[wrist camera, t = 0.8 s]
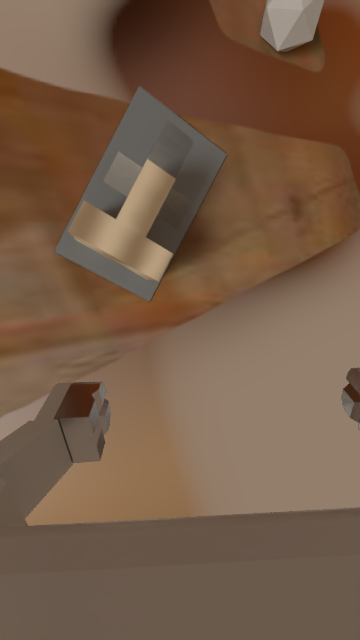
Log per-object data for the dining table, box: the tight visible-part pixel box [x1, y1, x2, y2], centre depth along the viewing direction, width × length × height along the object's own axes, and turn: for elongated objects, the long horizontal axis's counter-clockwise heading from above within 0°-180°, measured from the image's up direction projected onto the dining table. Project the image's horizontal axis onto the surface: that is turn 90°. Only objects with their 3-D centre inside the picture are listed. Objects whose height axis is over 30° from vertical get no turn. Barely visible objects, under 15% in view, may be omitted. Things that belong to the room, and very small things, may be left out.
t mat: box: [54, 86, 227, 302], centre depth 43 cm, size 16×27×1 cm, turn 151°
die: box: [260, 0, 324, 52], centre depth 40 cm, size 8×9×10 cm
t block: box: [68, 159, 176, 282], centre depth 38 cm, size 12×12×10 cm
